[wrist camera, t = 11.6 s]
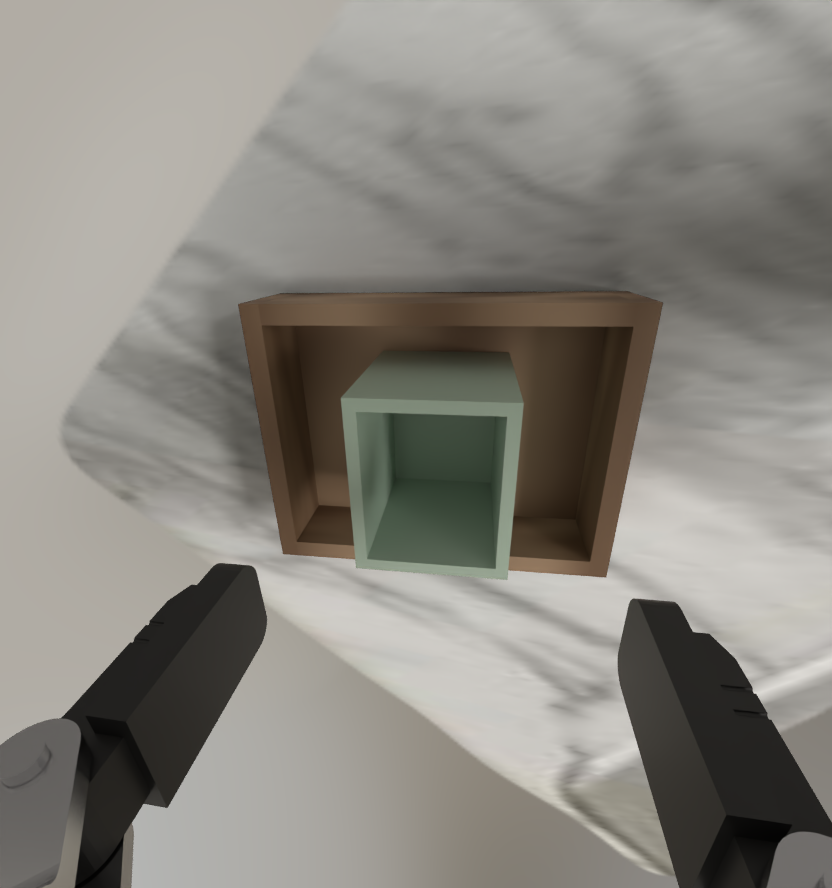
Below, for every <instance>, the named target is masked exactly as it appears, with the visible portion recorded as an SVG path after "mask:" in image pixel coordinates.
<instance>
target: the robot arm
mask: <svg viewBox="0 0 832 888" xmlns="http://www.w3.org/2000/svg"><path fill="white" fill-rule="evenodd" d="M266 625H267V616H266V611H265V607H264V602H263V598H262V594H261V590H260V585H259V581H258V577H257V573H256V570H255V568H254V567H252V566H249V565H237V564H225V563H218V564H216V565H215V566H213V567H212V568H211V570H210V571H209V572H208V573H207V574H206V575H205V576H204V578H203V579H202V580H201V581H200V582H199V583H198V585H190V586H189V587H188V588H186V589H185V590H183V591H182V592H180V593H179V594H177V595H176V596H174V597H173V598H171V599H170V600H168V601H167V602H166V604H165V605H164V606H163V607H162V608H161V609H160V610H159V611H158V612H157V613H156V615H155V616H154V617H153V618H152V619H151V620H150V623H149V625H146V626H145V627H144V628H143V629H142V630H141V631H140V632H139V633H138V634H137V636H136V637H135V639H134V642H133V643H129V644H128V646H127V647H126V648H125V649H124V650H123V651H122V652H121V653H120V655H118V657H117V658H116V659H115V660H114V661H113V662H112V663H111V665H109V667H108V668H107V669H106V670H105V671H104V672H103V673H102V674H101V675H100V676H99V678H98V679H97V680H96V681H95V682H94V683H93V684H92V685H91V686H90V688H89V689H88V690H87V691H86V692H85V693H84V694H83V695H82V696H81V697H80V699H79V700H78V701H77V702H76V703H75V704H74V705H73V706H72V707H71V709H70V710H69V711H68V712H67V713H66V714H65V715H64V716H63V717H62V718H59V719H51V720H46V721H43V722H40V723H37V724H34V725H32V726H30V727H28V728H26V729H24V730H22V731H20V732H19V733H17V734H15V735H14V736H12V737H11V738H9V739H8V740H7V741H5V742H4V743H3V744H1V745H0V888H131V883H132V861H133V840H134V831H133V825H132V821H133V820H134V818H135V817H136V815H137V813H138V812H139V810H140V809H141V807H142V805H143V804H149V805H154V806H160V807H165V808H167V807H168V806H169V804H170V802H171V801H172V799H173V797H174V795H175V793H176V792H177V790H178V789H179V787H180V785H181V783H182V782H183V780H184V778H185V776H186V775H187V773H188V771H189V769H190V768H191V766H192V764H193V762H194V761H195V759H196V757H197V755H198V754H199V752H200V750H201V748H202V747H203V745H204V743H205V741H206V740H207V738H208V736H209V735H210V733H211V731H212V729H213V728H214V726H215V724H216V722H217V721H218V719H219V717H220V715H221V714H222V711H223V710H224V708H225V707H226V705H227V703H228V701H229V700H230V698H231V696H232V694H233V693H234V691H235V689H236V687H237V686H238V684H239V682H240V680H241V678H242V677H243V675H244V673H245V672H246V670H247V668H248V667H249V665H250V663H251V661H252V659H253V658H254V656H255V654H256V652H257V651H258V649H259V647H260V645H261V644H262V641H263V639H264V636H265V632H266ZM618 674H619V681H620V686H621V689H622V693H623V696H624V700H625V703H626V707H627V710H628V713H629V717H630V720H631V724H632V727H633V731H634V734H635V737H636V741H637V744H638V748H639V751H640V755H641V758H642V761H643V765H644V768H645V772H646V775H647V779H648V782H649V785H650V789H651V792H652V796H653V799H654V803H655V806H656V809H657V813H658V816H659V820H660V823H661V827H662V830H663V833H664V837H665V840H666V844H667V847H668V851H669V854H670V857H671V861H672V864H673V868H674V871H675V875H676V878H677V881H678V885H679V888H832V822H831V821H830V819H829V817H828V816H827V814H826V812H825V811H824V809H823V807H822V805H821V804H820V802H819V800H818V799H817V797H816V795H815V793H814V792H813V790H812V789H811V787H810V785H809V783H808V782H807V780H806V778H805V776H804V775H803V773H802V771H801V770H800V768H799V766H798V764H797V763H796V761H795V759H794V758H793V756H792V754H791V753H790V751H789V749H788V747H787V746H786V744H785V742H784V741H783V739H782V738H781V736H780V734H779V732H778V730H777V729H776V727H775V725H774V724H773V722H772V720H769V719H768V717H767V712H766V710H765V708H764V707H763V705H762V703H761V701H760V700H759V698H758V696H757V695H756V694H754V693H753V690H752V689H753V688H752V686H751V684H750V683H749V681H748V679H747V678H746V676H745V674H744V673H743V671H742V669H741V667H740V666H739V664H738V662H737V661H736V659H735V658H734V657H733V656H732V655H731V654H730V653H729V652H728V651H727V650H726V649H725V648H724V647H722V646H721V645H720V644H719V643H718V642H717V641H716V640H715V639H714V638H713V637H712V636H711V635H710V634H706V633H695V632H693V631H692V629H691V627H690V626H689V624H688V622H687V620H686V618H685V616H684V614H683V612H682V610H681V608H680V607H679V606H678V604H677V603H675V602H670V601H658V600H646V599H632V600H631V601H630V603H629V607H628V611H627V616H626V620H625V625H624V629H623V634H622V638H621V643H620V647H619V652H618Z"/></svg>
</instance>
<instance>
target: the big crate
mask: <svg viewBox="0 0 832 888" xmlns="http://www.w3.org/2000/svg"><path fill="white" fill-rule="evenodd" d="M662 305H663V302H660V301H656V300H653V299H650V298H647V297H644V296H641V295H637V294H634V293H631V292H628V291H576V292H424V293H281V294H277V295H273V296H269V297H265V298H260V299H256V300H252V301H248V302H244V303H240V304H238V306H239V311H240V317H241V323H242V328H243V334H244V339H245V345H246V350H247V356H248V361H249V367H250V373H251V378H252V384H253V389H254V395H255V400H256V406H257V412H258V417H259V423H260V428H261V434H262V439H263V445H264V451H265V456H266V462H267V467H268V473H269V478H270V484H271V490H272V495H273V501H274V506H275V512H276V517H277V523H278V528H279V534H280V540H281V545H282V551H283V554H290V555H304V556H318V557H332V558H346V559H355V550H354V539H353V528H352V517H351V506H350V495H349V484H348V473H347V461H346V450H345V439H344V428H343V417H342V406H341V397H342V396H343V395H344V394H345V393H346V392H347V390H348V389H349V388H350V387H351V386H352V385H353V384H354V383H355V382H356V380H357V379H358V378H359V377H360V376H361V375H362V374H363V373H364V372H365V370H366V369H367V368H368V367H369V366H370V365H371V364H372V363H373V361H374V360H375V359H376V358H377V357H378V356H379V355H380V354H381V353H382V351H440V352H509V353H510V356H511V360H512V363H513V367H514V371H515V374H516V378H517V381H518V385H519V388H520V392H521V395H522V399H523V402H524V406H523V417H522V427H521V438H520V449H519V460H518V470H517V481H516V492H515V503H514V514H513V524H512V535H511V546H510V557H509V567H508V570H512V571H526V572H539V573H553V574H567V575H581V576H595V577H606V575H607V571H608V566H609V561H610V556H611V551H612V546H613V542H614V537H615V532H616V527H617V522H618V517H619V513H620V508H621V503H622V498H623V493H624V489H625V484H626V479H627V474H628V469H629V464H630V460H631V455H632V450H633V445H634V440H635V435H636V431H637V426H638V421H639V416H640V411H641V406H642V402H643V397H644V392H645V387H646V382H647V378H648V373H649V368H650V363H651V358H652V353H653V349H654V344H655V339H656V334H657V329H658V324H659V320H660V315H661V310H662Z"/></svg>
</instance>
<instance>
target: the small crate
mask: <svg viewBox="0 0 832 888" xmlns="http://www.w3.org/2000/svg"><path fill="white" fill-rule="evenodd" d="M341 406H342V417H343V428H344V439H345V450H346V461H347V473H348V484H349V495H350V506H351V517H352V528H353V539H354V550H355V561H356V568H362V569H375V570H388V571H401V572H413V573H426V574H439V575H452V576H465V577H477V578H490V579H503V580H507V578H508V567H509V557H510V546H511V535H512V524H513V514H514V503H515V492H516V481H517V470H518V460H519V449H520V438H521V427H522V417H523V406H524V402H523V399H522V395H521V392H520V388H519V385H518V381H517V378H516V374H515V371H514V367H513V363H512V360H511V356H510V353H509V352H440V351H382V353H381V354H380V355H379V356H378V357H377V358H376V359H375V360H374V361H373V363H372V364H371V365H370V366H369V367H368V368H367V369H366V370H365V372H364V373H363V374H362V375H361V376H360V377H359V378H358V379H357V380H356V382H355V383H354V384H353V385H352V386H351V387H350V388H349V389H348V390H347V392H346V393H345V394H344V395H343V396H342V397H341Z"/></svg>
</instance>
